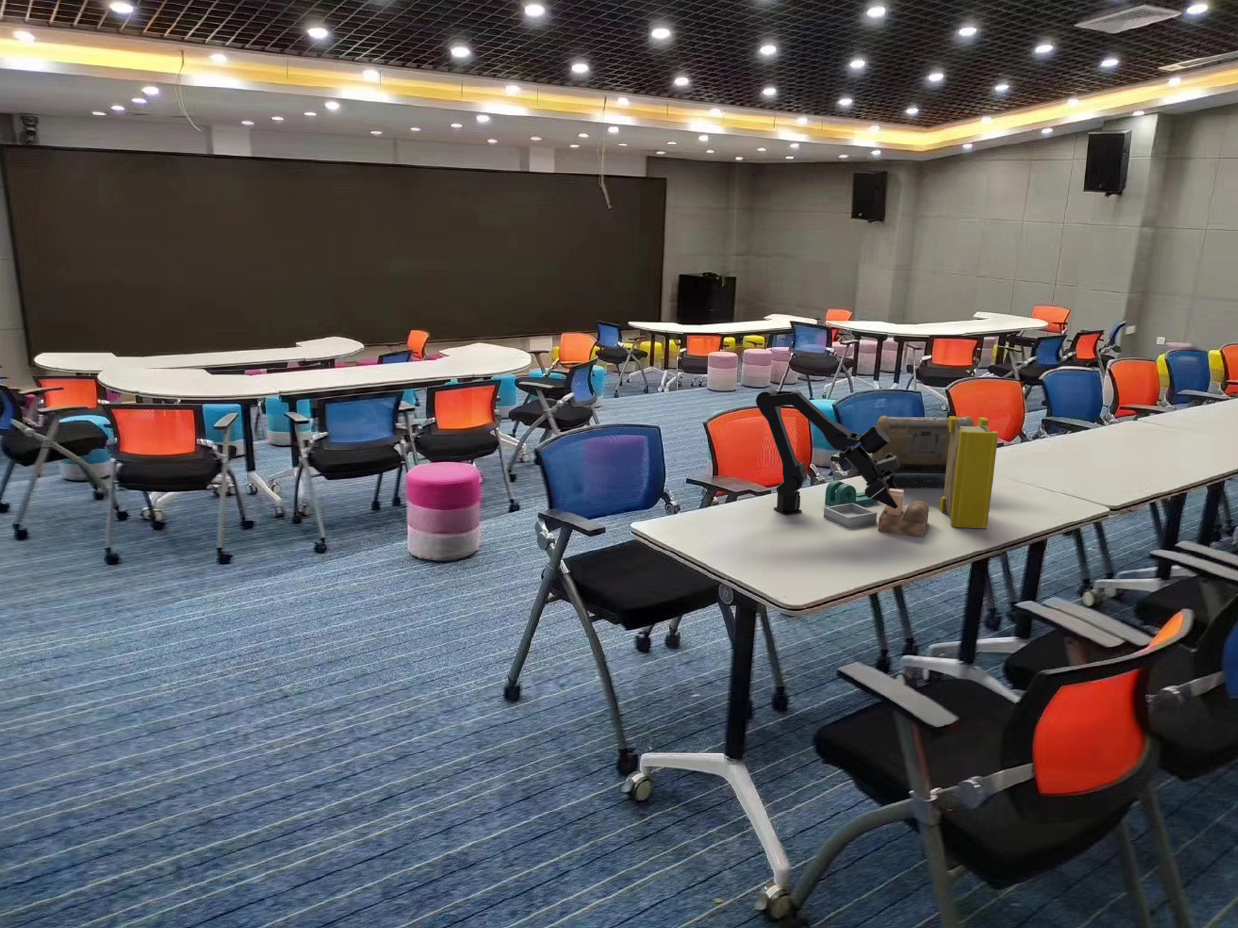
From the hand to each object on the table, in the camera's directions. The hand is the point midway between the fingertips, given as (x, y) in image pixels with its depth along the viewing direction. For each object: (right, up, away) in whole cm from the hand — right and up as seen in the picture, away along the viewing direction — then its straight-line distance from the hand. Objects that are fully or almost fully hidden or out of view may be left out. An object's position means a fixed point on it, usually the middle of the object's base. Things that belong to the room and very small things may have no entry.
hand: (898, 503), depth 250 cm
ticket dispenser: (+2, -7, +1) cm, 7 cm away
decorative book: (+22, -5, +9) cm, 25 cm away
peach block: (-1, -7, +2) cm, 7 cm away
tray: (-12, -5, +8) cm, 15 cm away
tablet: (+21, +4, +45) cm, 50 cm away
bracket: (-7, -1, +23) cm, 24 cm away
